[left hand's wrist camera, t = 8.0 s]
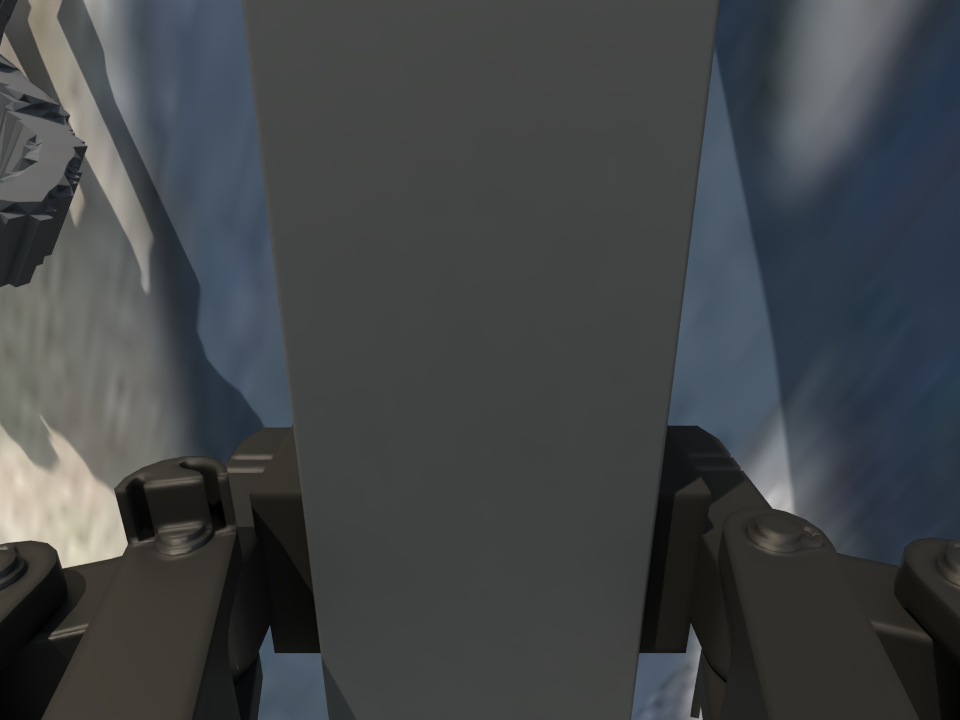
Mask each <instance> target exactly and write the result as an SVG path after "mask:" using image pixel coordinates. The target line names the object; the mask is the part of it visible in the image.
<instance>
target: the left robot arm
mask: <svg viewBox="0 0 960 720" xmlns="http://www.w3.org/2000/svg"><path fill="white" fill-rule="evenodd" d="M114 490H115V494H116V498H117V502H118V506H119V510H120V514H121V518H122V522H123V526H124V530H125V534H126V537H127V541H128V546H127V548H126V550H125V552H124V554H123V556H120V557H116V558H112V559H108V560H103V561H98V562H93V563H88V564H83V565H78V566H73V567H68V568H63V569H62V566H61V563H60V560H59V557H58V553H57V551H56V550H55V549H54V548H53V547H52V546H50V545H49V544H48V543H43V542H37V541H22V542H13V543H5V544H0V720H257V719H258V711H259V703H260V695H261V687H262V679H263V675H262V668H261V661H260V655H259V649H260V647H261V645H262V642H263V640H264V638H265V635H266V633H267V631H268V628H269V626H271V632H272V639H273V645H274V651H275V653H321V650H320V642H319V634H318V626H317V617H316V609H315V601H314V593H313V584H312V576H311V568H310V560H309V551H308V543H307V535H306V527H305V518H304V510H303V502H302V494H301V485H300V477H299V469H298V461H297V452H296V444H295V436H294V427H293V426H292V427H291V428H263V429H261V430H259V431H258V432H256V433H255V434H253V435H251V436H250V437H248V438H247V439H245V440H243V441H242V442H241V444H240V445H239V446H238V448H237V449H236V450H235V451H234V453H233V454H232V455H231V458H230V460H228V461H227V462H226V463H225V464H223V463H222V462H220V461H219V460H217V459H213V458H208V457H204V456H189V457H179V458H174V459H168V460H163V461H160V462H157V463H155V464H152V465H149V466H146V467H143V468H141V469H139V470H138V471H136V472H134V473H133V474H131V475H129V476H127V477H126V478H124V479H123V481H122V482H121V483H120V484H119V485H118V486H117V487H116V488H115V489H114ZM690 623H691V624H692V626H693V629H694V631H695V633H696V635H697V638H698V640H699V642H700V645H701V647H702V649H701V655H700V661H699V667H698V673H697V678H696V684H695V690H694V696H693V701H692V708H691V716H690V717H694V718H699V714H700V708H701V709H702V717H703V720H960V541H955V540H946V539H937V538H926V539H920V540H914V541H913V542H911V543H910V544H909V545H908V546H907V547H905V549H904V552H903V556H902V559H901V562H900V565H899V566H896V565H891V564H886V563H881V562H876V561H871V560H866V559H861V558H856V557H851V556H847V555H843V554H840V553H836V550H835V548H834V546H833V544H832V543H831V542H830V540H829V539H828V538H827V537H826V535H825V534H824V533H823V532H822V531H821V530H820V529H818V528H817V527H815V526H814V525H813V524H811V523H810V522H808V521H807V520H805V519H802V518H800V517H798V516H795V515H793V514H791V513H788V512H785V511H781V510H776V509H772V507H771V506H770V505H769V504H768V502H767V501H766V500H765V498H764V497H763V496H762V495H761V493H760V492H759V491H758V489H757V488H756V487H755V485H754V484H753V483H752V482H751V480H750V479H749V478H748V476H747V475H746V474H745V473H744V471H741V470H740V466H739V465H738V464H737V462H736V461H735V460H734V458H731V457H730V453H729V452H728V451H727V449H726V448H725V447H724V446H723V444H722V443H721V442H720V440H719V439H718V438H716V437H714V436H713V435H711V434H710V433H708V432H706V431H705V430H703V429H702V428H700V427H698V426H668V425H667V433H666V441H665V449H664V457H663V465H662V473H661V481H660V489H659V497H658V505H657V513H656V521H655V529H654V538H653V546H652V554H651V562H650V570H649V578H648V586H647V594H646V602H645V610H644V618H643V626H642V634H641V642H640V650H639V653H686V648H687V642H688V636H689V629H690Z"/></svg>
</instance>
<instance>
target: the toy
mask: <svg viewBox="0 0 960 720" xmlns="http://www.w3.org/2000/svg"><path fill="white" fill-rule="evenodd" d="M16 2H17V0H0V44H1V41H2V37H3V33H4V29H5V26H6V24H7V22H8V20H9V19H10V17H11V15H12V12H13V10H14V7H15V4H16ZM69 117H70V115H69V114H68V113H67V112H66V111H65V110H64V109H63V108H62V107H61V106H60V105H59V104H58V103H56V102H55V101H54V100H53V99H52V98H50V97H49V96H48V95H47V94H46V93H44V92H43V91H42V90H40V89H39V88H38V87H36V86H35V85H34V84H32V83H31V82H29V81H28V80H27V78H26V77H25V76H24V75H23V74H22V72H21V71H20V70H19V69H18V68H17V67H15V66H14V65H13V64H12V63H11V62H9V61H8V60H7V59H6V58H4V57H3V56H2V55H1V54H0V287H2V286H4V285H7V284H11V285H13V286H15V287H18V286H21V285H24V284H27V283H30V280H31V278H32V275H33V273H34V270H35V268H36V266H37V265H40V264H43V260H44V257H45V256H48V255H51V254H52V251H53V249H54V246H55V243H56V241H57V238H58V236H59V233H60V230H61V228H62V225H63V222H64V220H65V217H66V214H67V212H68V209H69V206H70V204H71V201H72V199H73V196H74V193H75V191H76V188H77V185H78V183H79V180H80V177H81V175H82V171H80V170H79V168H80V165H81V163H82V160H83V157H84V155H85V152H86V150H87V147H88V146H87V145H85V144H84V143H85V142H84V141H82V140H81V139H79V138H77V137H76V136H75V133H73V132H72V129H71V128H70V127H69V126H68V125H67V122H68V119H69Z"/></svg>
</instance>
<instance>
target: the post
mask: <svg viewBox="0 0 960 720" xmlns="http://www.w3.org/2000/svg"><path fill="white" fill-rule="evenodd" d="M242 6H243V14H244V23H245V31H246V39H247V47H248V56H249V64H250V72H251V81H252V89H253V97H254V105H255V114H256V122H257V130H258V138H259V147H260V155H261V163H262V171H263V180H264V188H265V196H266V204H267V213H268V221H269V229H270V237H271V246H272V254H273V262H274V271H275V279H276V287H277V295H278V304H279V312H280V320H281V328H282V337H283V345H284V353H285V361H286V370H287V378H288V386H289V394H290V403H291V411H292V419H293V427H294V436H295V444H296V452H297V461H298V469H299V477H300V485H301V494H302V502H303V510H304V518H305V527H306V535H307V543H308V551H309V560H310V568H311V576H312V584H313V593H314V601H315V609H316V617H317V626H318V634H319V642H320V650H321V659H322V667H323V675H324V684H325V692H326V700H327V708H328V717H329V720H631V715H632V707H633V699H634V691H635V683H636V675H637V667H638V658H639V650H640V642H641V634H642V626H643V618H644V610H645V602H646V594H647V586H648V578H649V570H650V562H651V554H652V546H653V538H654V529H655V521H656V513H657V505H658V497H659V489H660V481H661V473H662V465H663V457H664V449H665V441H666V433H667V425H668V417H669V409H670V401H671V392H672V384H673V376H674V368H675V360H676V352H677V344H678V336H679V328H680V320H681V312H682V304H683V296H684V288H685V280H686V272H687V264H688V255H689V247H690V239H691V231H692V223H693V215H694V207H695V199H696V191H697V183H698V175H699V167H700V159H701V151H702V143H703V135H704V126H705V118H706V110H707V102H708V94H709V86H710V78H711V70H712V62H713V54H714V46H715V38H716V30H717V22H718V14H719V6H720V0H242Z"/></svg>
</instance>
